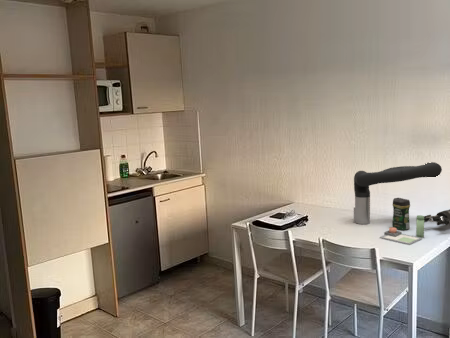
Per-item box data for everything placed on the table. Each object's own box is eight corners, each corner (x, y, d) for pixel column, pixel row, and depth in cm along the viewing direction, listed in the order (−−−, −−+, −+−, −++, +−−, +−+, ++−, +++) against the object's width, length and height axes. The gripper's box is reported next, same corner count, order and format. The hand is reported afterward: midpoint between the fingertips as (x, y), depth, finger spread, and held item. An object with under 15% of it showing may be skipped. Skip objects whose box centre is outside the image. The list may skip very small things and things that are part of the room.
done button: (387, 232, 256) (387, 228, 256) (391, 230, 259) (391, 226, 258) (394, 233, 253) (394, 229, 253) (397, 232, 256) (398, 228, 255)
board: (378, 238, 253) (378, 234, 253) (392, 232, 262) (392, 229, 262) (409, 245, 239) (409, 241, 239) (422, 239, 248) (422, 235, 248)
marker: (414, 236, 252) (415, 216, 250) (418, 235, 255) (418, 214, 253) (421, 238, 249) (422, 217, 247) (425, 236, 252) (425, 216, 250)
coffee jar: (389, 227, 272) (390, 198, 269) (398, 225, 275) (399, 196, 273) (403, 231, 263) (403, 200, 260) (412, 228, 267) (412, 198, 264)
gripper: (434, 208, 271) (419, 213, 262) (457, 213, 259) (442, 218, 250) (434, 220, 272) (418, 225, 263) (457, 225, 261) (442, 231, 252)
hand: (430, 222), depth 257 cm, fingers open, 8 cm apart
